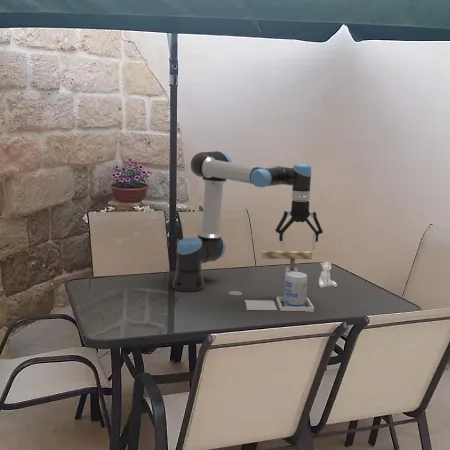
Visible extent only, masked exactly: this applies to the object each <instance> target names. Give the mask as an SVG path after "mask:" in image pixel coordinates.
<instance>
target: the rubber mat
mask: <svg viewBox="0 0 450 450" xmlns="http://www.w3.org/2000/svg"><path fill="white" fill-rule="evenodd" d="M245 303H246V304H245ZM244 304H245V306H246V311H248V310H277V311H278V308H277V306H276V303H275V300H264V299H263V300H262V299H260V300H259V299H258V300H255V299H254V300H252V299H249V300H248V299H245V300H244Z"/></svg>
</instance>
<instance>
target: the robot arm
mask: <svg viewBox="0 0 450 450" xmlns="http://www.w3.org/2000/svg"><path fill="white" fill-rule="evenodd" d="M190 169H191V172H192V173H193V174H194V175H195V176H196V177H199V178H201V179H202V180H203V182H204V193H203V206H202V207H203V208H202V219H201V231H199V232H198V234H197V237H195V236H192V237H184V238H182V239H180V240H179V241H178V242H177V245H176V246H177V247H176V271H175V272H176V273H175V275H174V278H173V280H172V289H174V290H176V291H179V292H189V293H190V292H198V291H203V290H204V289H205V280H204V278H203V274H202V264H205V263H209V262H214V261H217V260H219V259H221V258H222V257H223V255H224V254H225V252H226V242H225V241H224V239H223V238H222V237H223V236H222V234H221V233H220V224H221V223H220V222H221V213H222V212H221V211H222V202H223V201H222V200H223V187H224V184H225V183H226V182H227V180H229V181H235V182H240V183H245V184H250V185H253V186H255V187H257V188H265V187H273V186H279V185H280V186H281V185H282V186H283V185H284V186H285V185H286V186H292V191H291V199H292V200H291V211H287V210H284V211H283V215H282V217H281V219H280V220H279V223H278V224H277V227H276V228H275V229H274V231H275V232H276V234H277V233H278V234H279V235H278V236H279V237H278V240H279V242H280V243H281V245H280V246H281V247H280V249H281V250H284V249H285V235H286V234H285V232H286V231H287V229H289V227H290V226H292V224H293V223H295V222H296V223H304V222H306V224H307V225H308V226H309V228H310V229H311V230H312V232H314V233H313V234H312V243H311V244H312V245H311V249H312V250H313V251H314V250H316V243H318V241H319V235H320V234H323V233H324V231H323V229H322V227H321V225H320V221H319V220H318V217H317V212H316V211H310V199H311V195H310V194H311V180H312V167H311V165H310V164H308V163H295V164H294V165H293V167H285V166H280V165H277V166H275V165H274V166H272V167H269V168H268V167H267V168H265V167H258V166H254V165H249V164H248V165H247V164H241V163H236V162H233V160H232V158H231V157H230V155H229V154H228V153H227V152H224V151H219V150H215V151H201V152H198V153H196V154H195V155H194V156H193V157H192V158H191V160H190ZM289 216H291V217H290V219H289V220H288V221H287V222H286V224H285V225H284V223H285V221H286V220H287V219H288V217H289ZM310 216H311V218H312V219H313V221H314V223H315V226H314V225H313V224H312V223H311V222H310V220H309V217H310ZM315 227H316V228H315Z"/></svg>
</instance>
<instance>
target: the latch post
mask: <svg viewBox="0 0 450 450" xmlns="http://www.w3.org/2000/svg"><path fill="white" fill-rule="evenodd" d="M288 272H299V269H298V267H294V269H290V266H289V267H285V276H284V278H286V273H288Z"/></svg>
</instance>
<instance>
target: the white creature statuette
mask: <svg viewBox="0 0 450 450" xmlns="http://www.w3.org/2000/svg"><path fill="white" fill-rule="evenodd" d="M319 264H320V266H321V267H322V269H323V270H322V271H321V272H320V276H319V278H318V286H319V287H320V289H322V288H326V287H334V288H337V287H338V283H337V282H336V281H334V280H332V279H331V273H330V272H331V269H332V263H331V262H329V261H324V262H323V263H322V262H320V263H319Z"/></svg>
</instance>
